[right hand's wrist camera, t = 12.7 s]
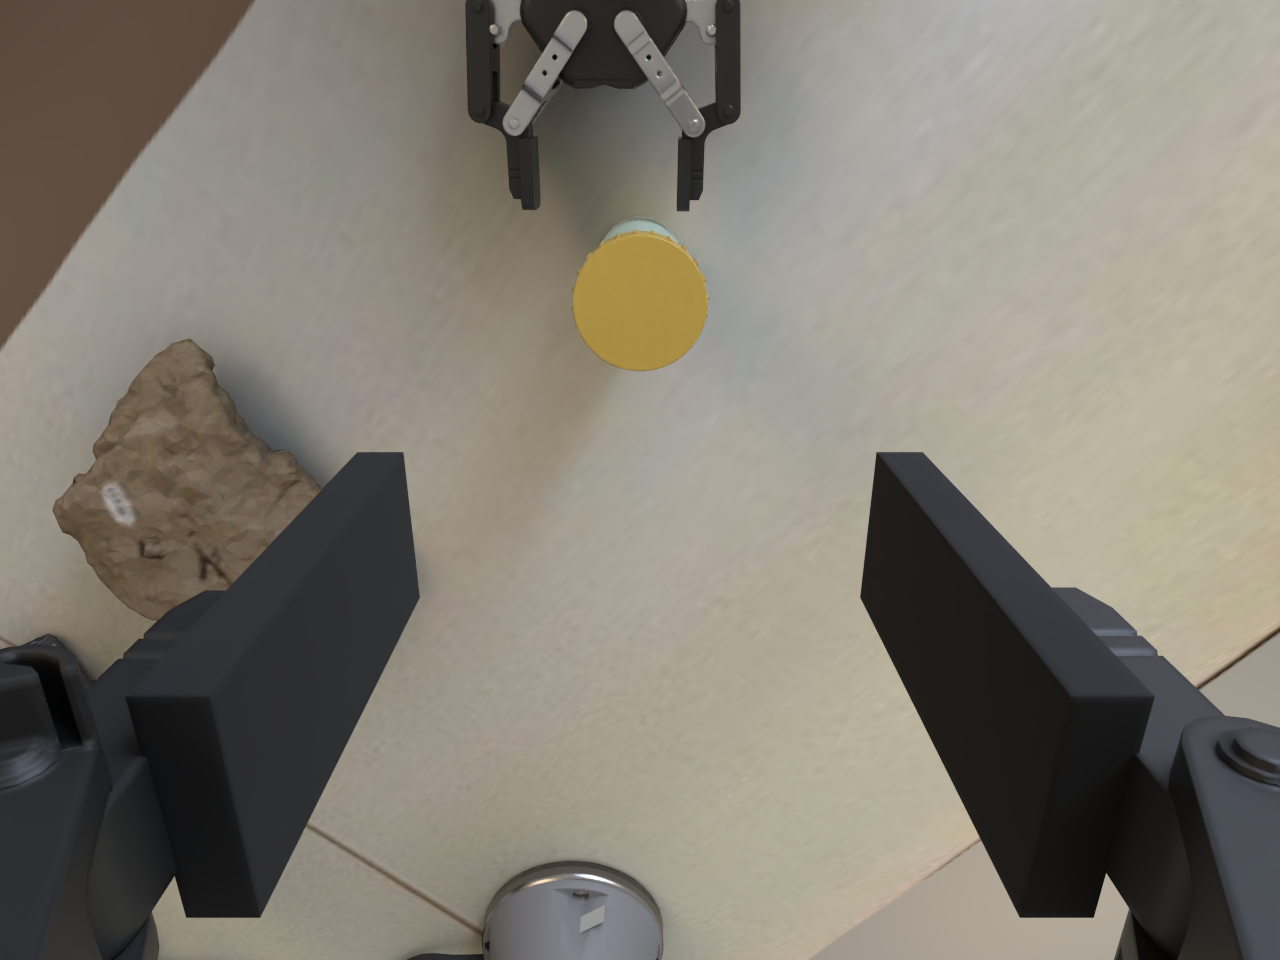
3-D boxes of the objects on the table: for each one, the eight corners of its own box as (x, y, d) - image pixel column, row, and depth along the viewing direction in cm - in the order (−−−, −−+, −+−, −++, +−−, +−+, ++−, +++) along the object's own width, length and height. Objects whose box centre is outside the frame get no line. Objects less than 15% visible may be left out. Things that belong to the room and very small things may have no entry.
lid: (670, 204, 35) (672, 207, 33) (726, 325, 37) (731, 335, 35) (551, 267, 36) (546, 273, 34) (612, 381, 38) (610, 395, 36)
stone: (8, 469, 52) (-35, 506, 46) (193, 324, 52) (171, 344, 46) (262, 668, 61) (251, 718, 56) (418, 545, 61) (422, 583, 56)
